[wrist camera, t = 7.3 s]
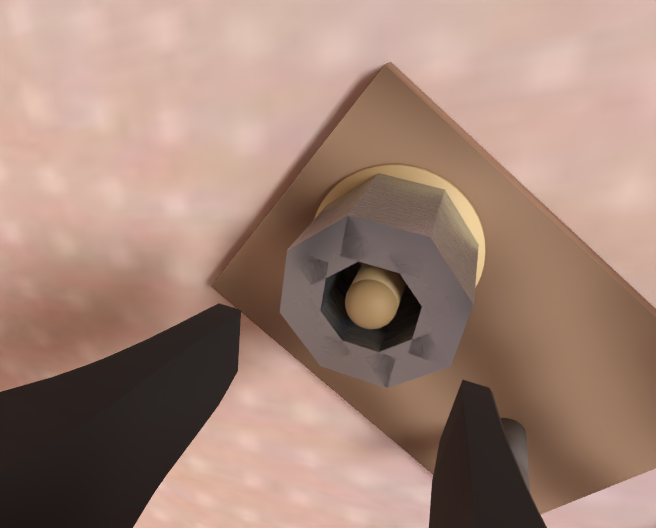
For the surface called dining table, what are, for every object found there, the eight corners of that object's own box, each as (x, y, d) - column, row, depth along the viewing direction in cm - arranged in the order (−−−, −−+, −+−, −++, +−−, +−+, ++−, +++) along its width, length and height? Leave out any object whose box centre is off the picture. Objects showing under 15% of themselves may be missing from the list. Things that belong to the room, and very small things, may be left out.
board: (499, 512, 24) (499, 641, 19) (221, 275, 22) (144, 350, 17) (756, 402, 17) (857, 556, 13) (390, 61, 16) (343, 84, 11)
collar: (447, 332, 18) (436, 405, 15) (313, 291, 19) (275, 350, 16) (493, 201, 16) (492, 253, 12) (334, 161, 17) (292, 200, 13)
